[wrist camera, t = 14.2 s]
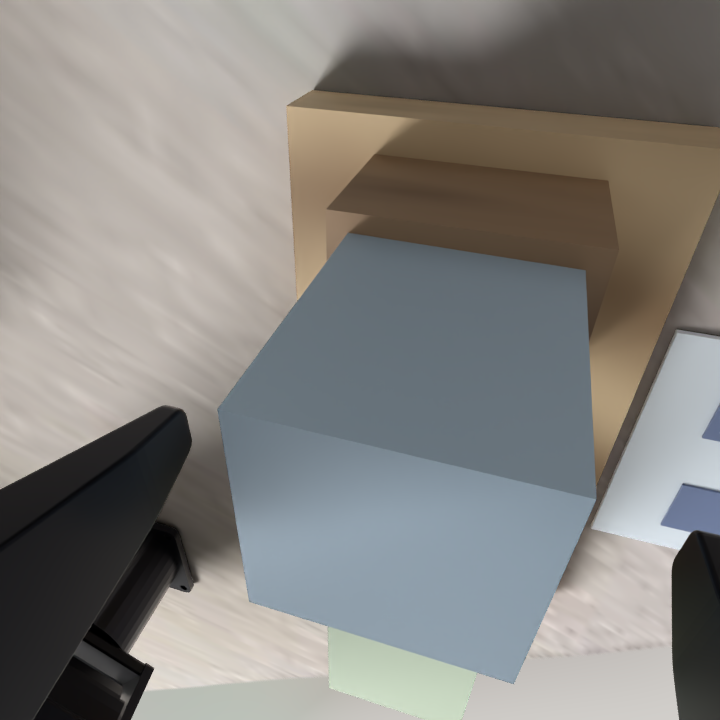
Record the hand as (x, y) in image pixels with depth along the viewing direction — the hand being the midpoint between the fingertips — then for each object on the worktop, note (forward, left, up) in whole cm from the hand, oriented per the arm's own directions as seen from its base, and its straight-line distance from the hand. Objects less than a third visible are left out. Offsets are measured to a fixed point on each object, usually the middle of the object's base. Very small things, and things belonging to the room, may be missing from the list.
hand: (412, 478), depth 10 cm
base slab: (-7, 0, -10) cm, 13 cm away
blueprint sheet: (-7, -10, -10) cm, 16 cm away
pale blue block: (0, 0, -4) cm, 4 cm away
